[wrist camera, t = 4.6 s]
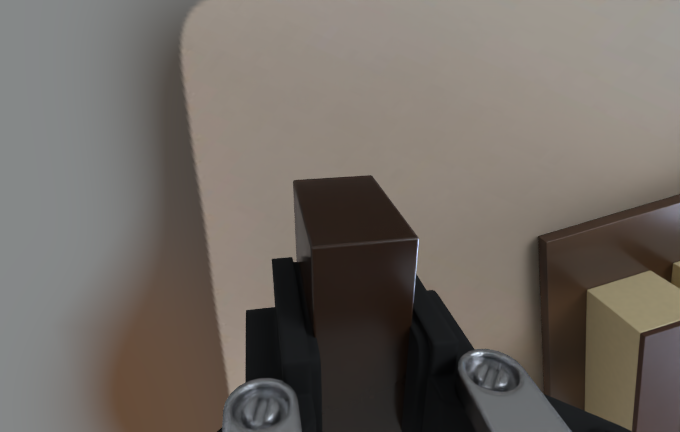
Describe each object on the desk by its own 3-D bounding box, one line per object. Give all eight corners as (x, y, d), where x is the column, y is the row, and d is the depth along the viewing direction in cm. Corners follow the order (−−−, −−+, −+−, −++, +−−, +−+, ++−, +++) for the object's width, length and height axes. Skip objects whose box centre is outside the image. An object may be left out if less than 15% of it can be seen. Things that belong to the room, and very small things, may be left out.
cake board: (537, 236, 31) (546, 242, 30) (770, 167, 32) (785, 171, 31) (546, 457, 41) (552, 467, 40) (721, 399, 42) (732, 407, 42)
